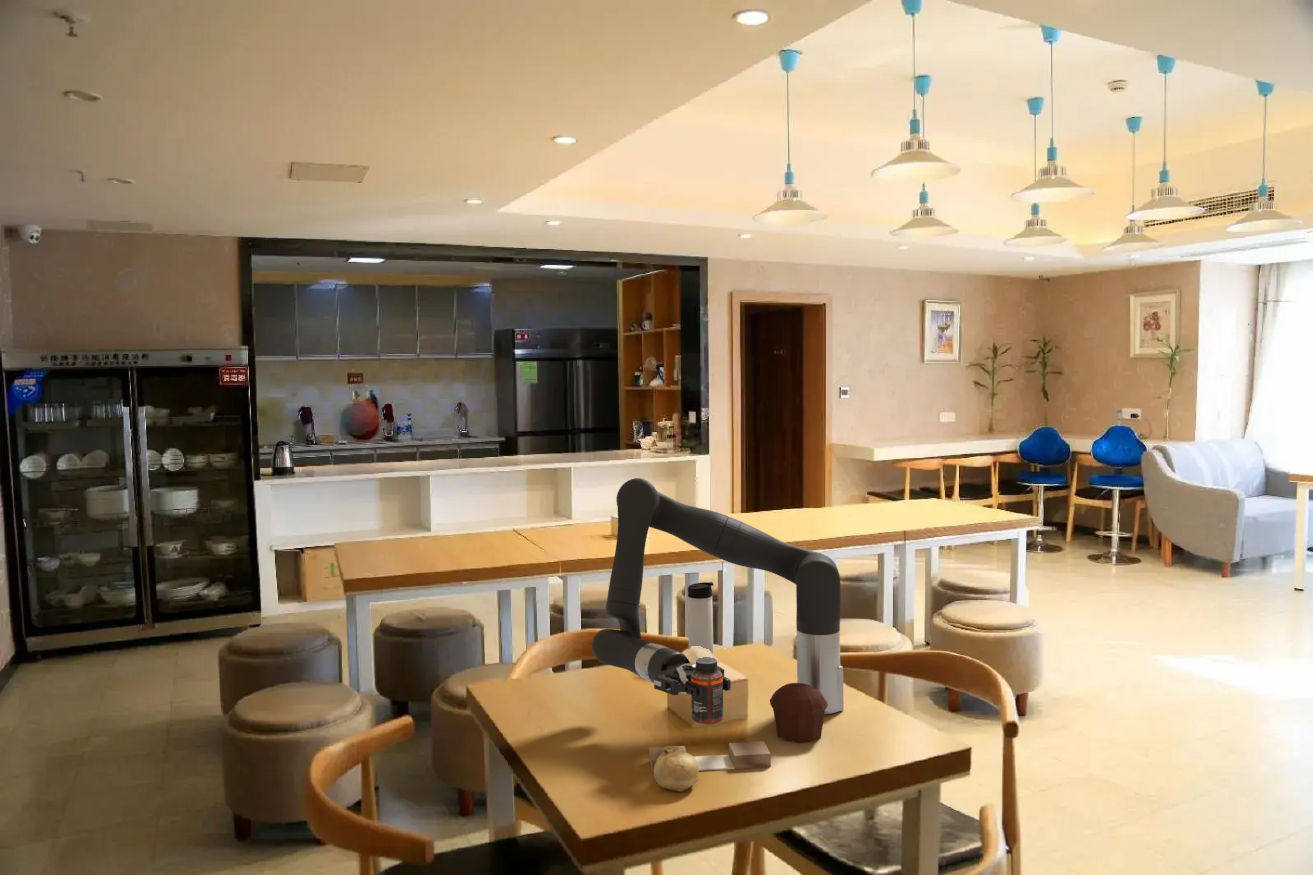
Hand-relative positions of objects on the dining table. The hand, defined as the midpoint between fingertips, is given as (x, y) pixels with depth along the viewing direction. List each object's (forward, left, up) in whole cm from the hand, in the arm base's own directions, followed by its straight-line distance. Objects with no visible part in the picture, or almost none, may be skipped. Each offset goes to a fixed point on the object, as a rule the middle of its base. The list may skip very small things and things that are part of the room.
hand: (715, 688), depth 173 cm
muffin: (-19, -14, -15) cm, 28 cm away
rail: (+1, -2, -15) cm, 15 cm away
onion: (+8, +6, -15) cm, 19 cm away
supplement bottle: (+1, -2, -7) cm, 7 cm away
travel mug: (-7, -66, -15) cm, 68 cm away
